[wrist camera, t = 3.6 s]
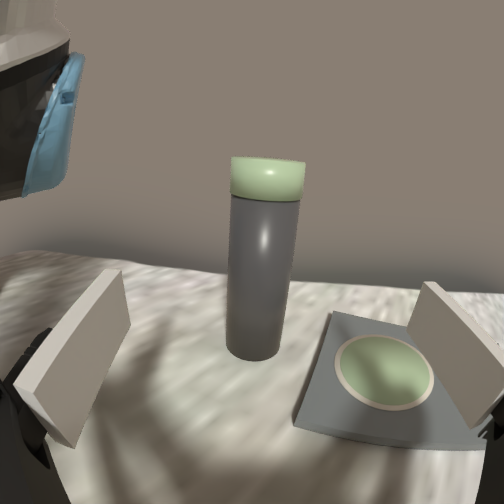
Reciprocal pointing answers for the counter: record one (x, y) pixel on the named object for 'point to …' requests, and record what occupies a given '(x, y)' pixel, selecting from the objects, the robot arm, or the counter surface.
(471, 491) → the counter surface
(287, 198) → the marker
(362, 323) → the board
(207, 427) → the counter surface
